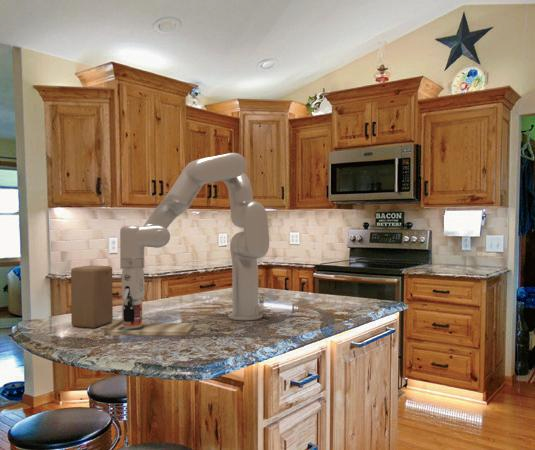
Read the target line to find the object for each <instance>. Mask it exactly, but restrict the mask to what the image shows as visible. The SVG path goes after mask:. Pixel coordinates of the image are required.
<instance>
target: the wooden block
mask: <svg viewBox="0 0 535 450" xmlns="http://www.w3.org/2000/svg"><path fill="white" fill-rule="evenodd" d="M70 277H71V278H70V280H71V281H70V282H71V283H70V285H71V287H70V289H71V290H70V292H71V293H70V296H71V297H70V298H71V300H70V301H71V307H70V308H71V311H70V312H71V315H70V316H71V326H72V327H76V328H88V329H89V328H91V329H95V328H99V327H102V326H104V325H105V326H106V325H109V324H111V323H113V321H114V320H113V315H114V313H113V305H114V304H113V302H114V301H113V267H112V266H111V265H110V266H109V265H85V266H76V267H73V268H71V269H70Z"/></svg>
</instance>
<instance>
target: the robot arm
mask: <svg viewBox="0 0 535 450" xmlns="http://www.w3.org/2000/svg"><path fill="white" fill-rule="evenodd" d="M246 169H247V161H246V158H245V157H244V156H243V155H242V154H240V153H237V152H229V153H225V154H219V155H214V156H209V157H208V156H207V157H203V158H198V159H195V160H193V161H191V162H189V163H188V164H186V166H185V167H184V168H183V170H182V171H181V172H180V175H178V177H177V178H176V181H175V182H174V184H173V185H172V186H171V188H170V190H169V191H168V193H167V194H166V195H165V196H164V198H163V199H162V200H161V201H160V203H159V204H158V205H157V206H156V208H155V209H154V210H153V212H151V214H150V216H149V217H148V218H147V220H146V221H145V223H144V225H142V226H141V225H123V226H122V227H121V228H120V230H119V241H120V242H119V244H120V247H119V248H120V249H119V251H120V252H119V255H120V256H119V261H120V262H119V264H120V265H119V266H120V270H122V273H121V291H120V293H121V299H122V302H123V304H124V322H133V321H134V309H133V305H134V299H135V300H138V299H141V300H142V298H143V297H144V296H145V295H146V289H145V288H146V287H145V283H146V281H145V272H144V269H145V248H154V249H160V248H163V247H165V246H166V245H167V244H168V243H169V241H170V238H171V234H170V231H169V230H168V228H169V226H170V225H171V224H172V223H173V221H174V220H176V219H177V217H179V216H180V215H182V214H183V213H185V212H186V211H187V210H189V208H190V207H191V205H193V204H192V203H193V201H194V200H195V199H196V197H197V196H198V194H199V193H200V191H201V189H202V188H203V186H204V185H205V184H210V183H215V182H221V181H222V182H223V183H224V184H225V186H226V188H227V191H228V196H229V208H230V219H231V222H232V224H233V225H234V226H235V227H236V228H237V227H238V228H241V229H243V231H239V232H237V233H235V234H234V235H233V236H232V237H231V239H230V244H229V251H230V257H231V266H232V268H231V269H232V270H231V271H232V273H231V274H232V275H231V276H232V282H231V283H232V287H231V288H232V291H231V292H232V312H230V313H228V315H227V317H228V319H230V320H233V321H240V322H241V321H243V322H244V321H255V320H260V319H262V318H263V313H264V314H271V307H267V306H264V307H263V306H260V305H261V304H260V303H259V265H258V260H257V259H261V258H264V257H265V256H266V255H267V253H268V251H269V249H270V248H269V247H270V233H269V221H268V213H267V211H266V208H265V207H264V205H263V204H261V203H260V202H258V201H255V200H254V196H253V189H252V183H251V182H250V179H249V177H248V176H247V174H246V173H245V172H246ZM128 298H132V299H128ZM128 301H131V304H130V302H128Z"/></svg>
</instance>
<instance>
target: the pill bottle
mask: <svg viewBox="0 0 535 450" xmlns="http://www.w3.org/2000/svg"><path fill="white" fill-rule="evenodd" d="M128 299H132V298H128ZM128 302H130V304H131V301H128ZM121 305H122V307H121V308H122V311H121V313H122V319H121V320H123V327H124V328H139V327H141V326H142V323H143V300H142V298H141V299H138V300H135V299H134V305H133V309H134V321H133V322H124V304H123V301H122V304H121Z"/></svg>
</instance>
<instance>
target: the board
mask: <svg viewBox="0 0 535 450" xmlns="http://www.w3.org/2000/svg"><path fill="white" fill-rule="evenodd" d="M195 326H196V324H195V322H189V323H187V322H175V323H174V322H142V326H141V327H139V328H124V327H123V319H116V320H114V321H112V322H111V323H109V324H107V326H106V325H105V326H104V329H103V331H104V332H103V334H104V336H173V337H174V336H178V337H179V336H186V337H187V336H188V335H189V334H190V333H191V332H192V330H193V329H194V328H195Z"/></svg>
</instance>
